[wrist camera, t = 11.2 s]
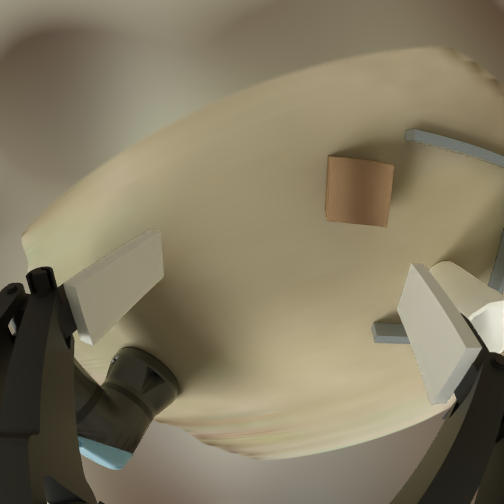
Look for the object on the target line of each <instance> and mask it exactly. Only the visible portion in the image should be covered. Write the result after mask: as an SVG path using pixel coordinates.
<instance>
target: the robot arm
mask: <svg viewBox="0 0 504 504" xmlns="http://www.w3.org/2000/svg"><path fill="white" fill-rule="evenodd" d="M163 277H164V268H163V256H162V243H161V231H157V230H148V231H146V232H144V233H142V234H141V235H139V236H137V237H136V238H134V239H132V240H130V241H129V242H127V243H125V244H124V245H122V246H120V247H119V248H117V249H116V250H114V251H112V252H111V253H109V254H107V255H106V256H104V257H103V258H101V259H99V260H98V261H96V262H95V263H93V264H92V265H90V266H89V267H87V268H85V269H84V270H82V271H81V272H79V273H78V274H76V275H75V276H73V277H72V278H70V279H69V280H67V281H66V282H64V283H63V284H62V285H61V286H59V287H58V288H57V284H56V280H55V276H54V272H53V269H52V268H51V267H39V268H36V269H34V270H32V271H30V272H29V273H28V274H27V275H26V279H27V282H28V285H29V289H30V292H31V294H26V293H25V290H24V286H23V284H21V283H11V284H8V285H7V286H6V287H5V288H3V289H2V290H1V292H0V504H47V502H48V503H49V504H97V501H96V498H95V496H94V494H93V491H92V490H91V488H90V486H89V484H88V483H87V481H86V479H85V476H84V472H83V467H82V461H81V456H80V453H81V454H82V455H84V456H86V457H87V458H89V459H91V460H93V461H94V462H96V463H98V464H101V465H103V466H105V467H107V468H110V469H114V470H119V469H122V468H123V467H124V466H125V465H126V463H127V462H128V461H129V459H130V458H131V457H132V456H133V453H134V451H135V450H136V448H137V446H138V444H139V443H140V441H141V439H142V437H143V436H144V434H145V432H146V430H147V429H148V427H149V425H150V423H151V422H152V420H153V418H154V417H155V416H156V415H157V414H159V413H160V412H161V411H163V410H164V409H165V408H166V407H167V406H169V405H170V404H171V403H172V402H173V401H174V400H175V398H176V396H177V394H178V392H179V386H178V383H177V381H176V379H175V377H174V376H173V374H172V373H171V372H170V370H169V369H168V368H167V367H166V366H165V365H164V364H162V363H161V362H160V361H159V360H157V359H156V358H154V357H153V356H151V355H150V354H148V353H146V352H144V351H141V350H138V349H135V348H122V349H120V350H119V351H118V352H117V353H116V355H115V356H114V357H113V359H112V361H111V364H110V367H109V370H108V373H107V376H106V379H105V381H104V383H103V384H102V385H101V386H100V385H99V384H98V383H97V382H96V381H95V380H94V379H93V378H92V377H91V376H90V375H89V374H88V372H87V371H86V370H85V369H84V368H83V367H82V366H81V365H80V363H79V362H78V361H77V360H76V359H75V358H74V337H73V334H72V333H73V332H74V331H76V330H77V331H78V333H79V336H80V339H81V341H83V342H86V343H88V344H90V345H92V346H94V345H95V344H96V343H97V342H98V341H99V340H100V339H101V338H102V337H103V336H104V335H105V334H106V333H107V332H108V331H109V330H110V329H111V328H112V327H113V326H114V325H115V324H116V323H117V322H118V321H119V320H120V319H121V318H122V317H123V316H124V315H125V314H126V313H127V312H128V311H129V310H130V309H131V308H132V307H133V306H134V305H135V304H136V303H137V302H138V301H139V300H140V299H141V298H142V297H143V296H144V295H145V294H146V293H147V292H148V291H149V290H151V289H152V288H153V287H154V286H155V285H156V284H157V283H158V282H159V281H160V280H161V279H162V278H163ZM397 311H398V313H399V316H400V318H401V321H402V323H403V326H404V328H405V331H406V333H407V336H408V339H409V341H410V344H411V347H412V349H413V352H414V355H415V358H416V361H417V363H418V366H419V369H420V372H421V375H422V379H423V382H424V385H425V388H426V391H427V395H428V398H429V402H430V405H434V404H445V403H447V401H448V400H449V399H450V397H451V396H452V395H453V393H455V396H456V399H457V400H456V401H455V403H454V404H453V405H452V407H451V408H450V409H449V411H448V412H447V413H446V414H445V415H444V417H443V419H445V418H446V419H445V421H444V423H443V425H442V427H441V429H440V430H439V432H438V434H437V436H436V438H435V440H434V441H433V443H432V444H431V446H430V448H429V449H428V451H427V453H426V454H425V456H424V458H423V459H422V461H421V462H420V464H419V465H418V467H417V468H416V469H415V471H414V472H413V474H412V475H411V477H410V478H409V480H408V481H407V482H406V484H405V485H404V486H403V487H402V489H401V490H400V491H399V493H398V494H397V495H396V496H395V498H394V499H393V500H392V501H391V502H390V504H470V503H471V501H472V499H473V497H474V495H475V493H476V491H477V489H478V493H477V496H476V500H475V504H504V356H502V355H501V354H499V353H496V352H489V350H488V348H487V347H486V345H485V343H484V342H483V340H482V339H481V337H480V335H478V332H477V331H476V329H474V326H473V325H472V323H471V322H470V320H469V319H468V318H467V317H465V316H464V315H463V314H462V313H460V312H459V311H458V309H457V308H456V306H455V305H454V304H453V302H452V301H451V299H450V298H449V297H448V295H447V294H446V293H445V291H444V290H443V288H442V287H441V286H440V285H439V283H438V282H437V281H436V279H435V278H434V277H433V275H432V274H431V273H430V272H429V270H428V269H427V268H426V267H425V265H424V264H418V263H411V265H410V268H409V272H408V275H407V279H406V282H405V285H404V289H403V292H402V295H401V298H400V301H399V304H398V307H397ZM10 321H11V324H12V326H13V328H14V331H15V333H14V334H13V335H12V334H11V332H10V330H9V328H8V324H9V322H10ZM478 487H479V488H478ZM98 504H104V503H102V502H101V501H100V502H99V503H98Z"/></svg>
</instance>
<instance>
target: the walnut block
mask: <svg viewBox="0 0 504 504" xmlns="http://www.w3.org/2000/svg"><path fill="white" fill-rule="evenodd" d="M393 171H394V165H391V164H387V163H383V162H379V161H372V160H364V159H356V158H347V157H338V156H328V163H327V181H326V195H325V213H326V219H327V221H334V222H344V223H353V224H363V225H372V226H381V227H387V223H388V216H389V208H390V201H391V192H392V182H393Z"/></svg>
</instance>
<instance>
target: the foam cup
mask: <svg viewBox="0 0 504 504" xmlns="http://www.w3.org/2000/svg"><path fill="white" fill-rule="evenodd" d="M429 272H430V273H431V274H432V275H433V277H434V278H435V279H436V281H437V282H438V283H439V285H440V286H441V287H442V288H443V290H444V291H445V293H446V294H447V295H448V297H449V298H450V299H451V301H452V302H453V304H454V305H455V306H456V308H457V309H458V311H459V312H460V313H462V314H463V315H464V316H465V317H467V318H468V319H469V320H470V322H471V323H472V325H473V326H474V329H476V331H477V332H478V335H480V337H481V339H482V340H483V342H484V343H485V345H486V347H487V348H488V350H489V352H496V353H499V354H500V353H501V352H502V351H503V350H504V295H503V294H501V293H499V292H498V291H496V290H495V289H491V288H490V287H489V286H487V285H486V284H484V283H483V282H482V281H480V280H479V279H477V278H476V277H474V276H473V275H471V274H470V273H468V272H467V271H466V270H464V269H463V268H461V267H459V266H458V265H456V264H454V263H453V262H451V261H441V262H439V263H438V264H436V265H434V266H432V268H431V269H430V270H429Z"/></svg>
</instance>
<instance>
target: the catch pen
mask: <svg viewBox="0 0 504 504" xmlns="http://www.w3.org/2000/svg"><path fill="white" fill-rule="evenodd" d="M405 140H406V141H411V142H415V143H420V144H424V145H429V146H433V147H437V148H441V149H445V150H449V151H452V152H456V153H460V154H463V155H466V156H470V157H473V158H476V159H479V160H482V161H485V162H488V163H491V164H494V165H497V166H500V167H502V168H504V156H502V155H499V154H497V153H494V152H491V151H489V150H486V149H483V148H480V147H477V146H474V145H471V144H468V143H465V142H462V141H458V140H455V139H452V138H448V137H445V136H441V135H437V134H433V133H429V132H425V131H421V130H417V129H412V130H406V137H405ZM488 286H489V287H490V288H491V289H495V290H496V291H498V292H499V293H501V294H503V291H504V230H503V234H502V239H501V243H500V247H499V250H498V254H497V258H496V261H495V265H494V268H493V271H492V274H491V277H490V280H489V283H488ZM372 333H373V338H374V342H375V343H397V344H410V341H409V339H408V336H407V333H406V331H405V328H404V326H403V324H393V323H375V322H374V323H373V326H372Z"/></svg>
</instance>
